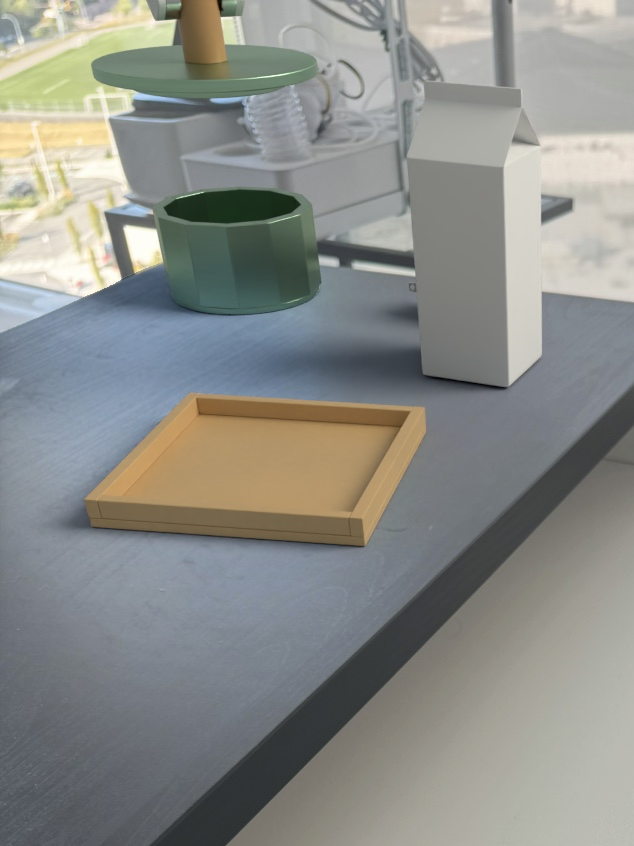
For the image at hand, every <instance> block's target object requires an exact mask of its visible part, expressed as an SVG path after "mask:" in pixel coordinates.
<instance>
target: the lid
mask: <svg viewBox="0 0 634 846" xmlns="http://www.w3.org/2000/svg"><path fill="white" fill-rule="evenodd" d="M181 2H182V8H181V10H180V11H179V12H180V15H181V16H180V19H176V20H177V24H178V30H179V31H178V32H179V36H180V43H181V44H176V45H163V46H162V45H161V46H150V47H149V46H148V47H141V48H132V49H127V50H122V51H116V52H112V53H107V54H105V55H101V56H99V57H97V58H95V59H94V60H92V62H91V63H90V68H91V71H92V75H93V78H94V79H95V81H97V82H98V83H100V84H103V85H106V86H109V87H114V88H118V89H123V90H129V91H134V92H137V93H139V94H143V95H147V96H153V97H160V98H161V97H162V98H171V99H188V100H189V99H190V100H191V99H195V100H197V99H198V100H203V99H206V100H207V99H208V100H209V99H210V100H211V99H213V100H214V99H232V98H243V97H244V98H245V97H250V96H257V95H264V94H269V93H274V92H276V91H279V90H282V89H284V88H285V87H290V86H294V85H298V84H302V83H306V82H308V81H310V80H312V79H314V78H315V77H317V76H318V74H319V66H318V65H319V64H318V59H317V58H316V57H315V56H313V55H311V54H309V53H307V52H303V51H299V50H296V49H289V48H284V47H276V46H268V45H267V46H265V45H254V44H232V43H231V44H229V43H228V44H227V43H225V37H224V31H223V24H222V17H220V10H219V3H218V0H181Z"/></svg>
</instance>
